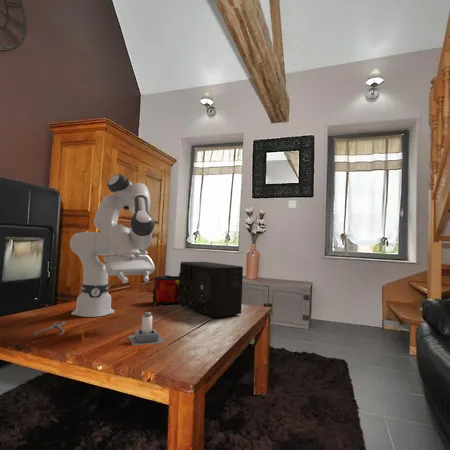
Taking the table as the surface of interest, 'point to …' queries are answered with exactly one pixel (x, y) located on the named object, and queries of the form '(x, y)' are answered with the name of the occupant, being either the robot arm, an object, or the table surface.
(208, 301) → the vintage radio
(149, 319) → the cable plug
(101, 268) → the robot arm
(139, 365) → the table surface
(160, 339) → the socket block
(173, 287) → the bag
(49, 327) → the pliers
